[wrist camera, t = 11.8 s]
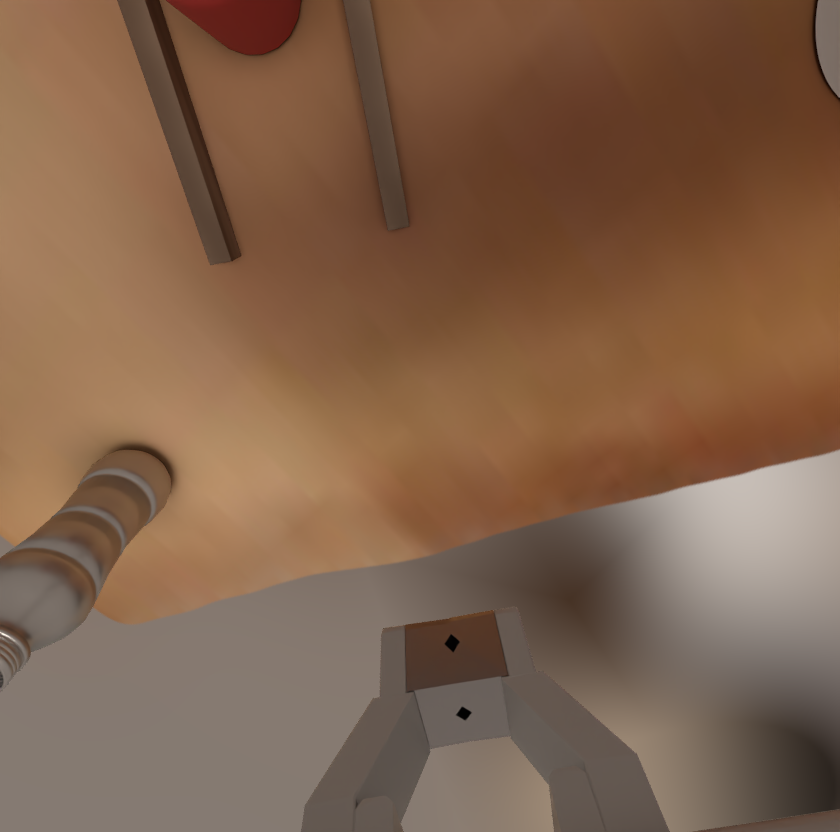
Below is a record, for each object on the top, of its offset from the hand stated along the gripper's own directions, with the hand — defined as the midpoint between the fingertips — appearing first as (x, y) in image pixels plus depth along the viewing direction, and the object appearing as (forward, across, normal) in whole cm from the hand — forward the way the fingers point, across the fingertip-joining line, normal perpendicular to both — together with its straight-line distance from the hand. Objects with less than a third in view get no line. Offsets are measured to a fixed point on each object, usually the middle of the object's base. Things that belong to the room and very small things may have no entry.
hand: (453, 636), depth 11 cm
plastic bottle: (+31, +26, +10) cm, 42 cm away
